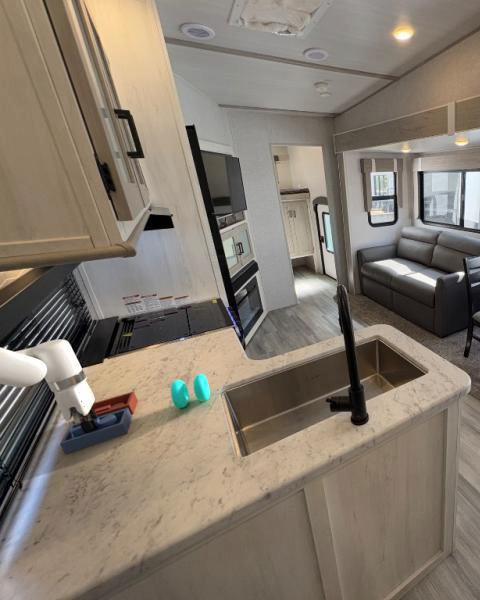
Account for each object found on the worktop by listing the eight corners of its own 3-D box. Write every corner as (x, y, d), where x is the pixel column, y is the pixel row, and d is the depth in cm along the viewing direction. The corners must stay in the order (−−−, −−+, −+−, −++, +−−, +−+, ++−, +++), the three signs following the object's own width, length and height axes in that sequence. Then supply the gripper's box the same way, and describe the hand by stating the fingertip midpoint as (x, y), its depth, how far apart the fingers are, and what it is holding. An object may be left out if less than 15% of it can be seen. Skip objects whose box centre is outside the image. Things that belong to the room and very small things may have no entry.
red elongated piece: (86, 423, 104) (83, 416, 103) (90, 416, 107) (86, 410, 106) (125, 411, 109) (122, 405, 108) (127, 405, 112) (124, 398, 111)
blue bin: (65, 454, 92) (59, 444, 91) (75, 435, 99) (70, 425, 98) (127, 433, 99) (122, 423, 98) (132, 417, 106) (128, 407, 105)
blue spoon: (75, 440, 95) (69, 434, 93) (79, 432, 98) (73, 426, 97) (115, 423, 99) (110, 417, 98) (118, 416, 102) (113, 410, 101)
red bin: (77, 431, 101) (72, 421, 100) (85, 416, 108) (81, 406, 107) (133, 414, 108) (129, 404, 107) (137, 400, 115) (133, 391, 114)
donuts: (209, 405, 110) (201, 381, 107) (176, 415, 106) (167, 391, 103) (211, 390, 119) (204, 368, 115) (180, 398, 115) (172, 376, 111)
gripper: (60, 371, 96) (84, 418, 102) (38, 399, 83) (68, 450, 90) (91, 364, 99) (113, 409, 106) (75, 388, 87) (101, 439, 93)
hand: (92, 428), depth 98 cm, fingers closed on blue spoon
